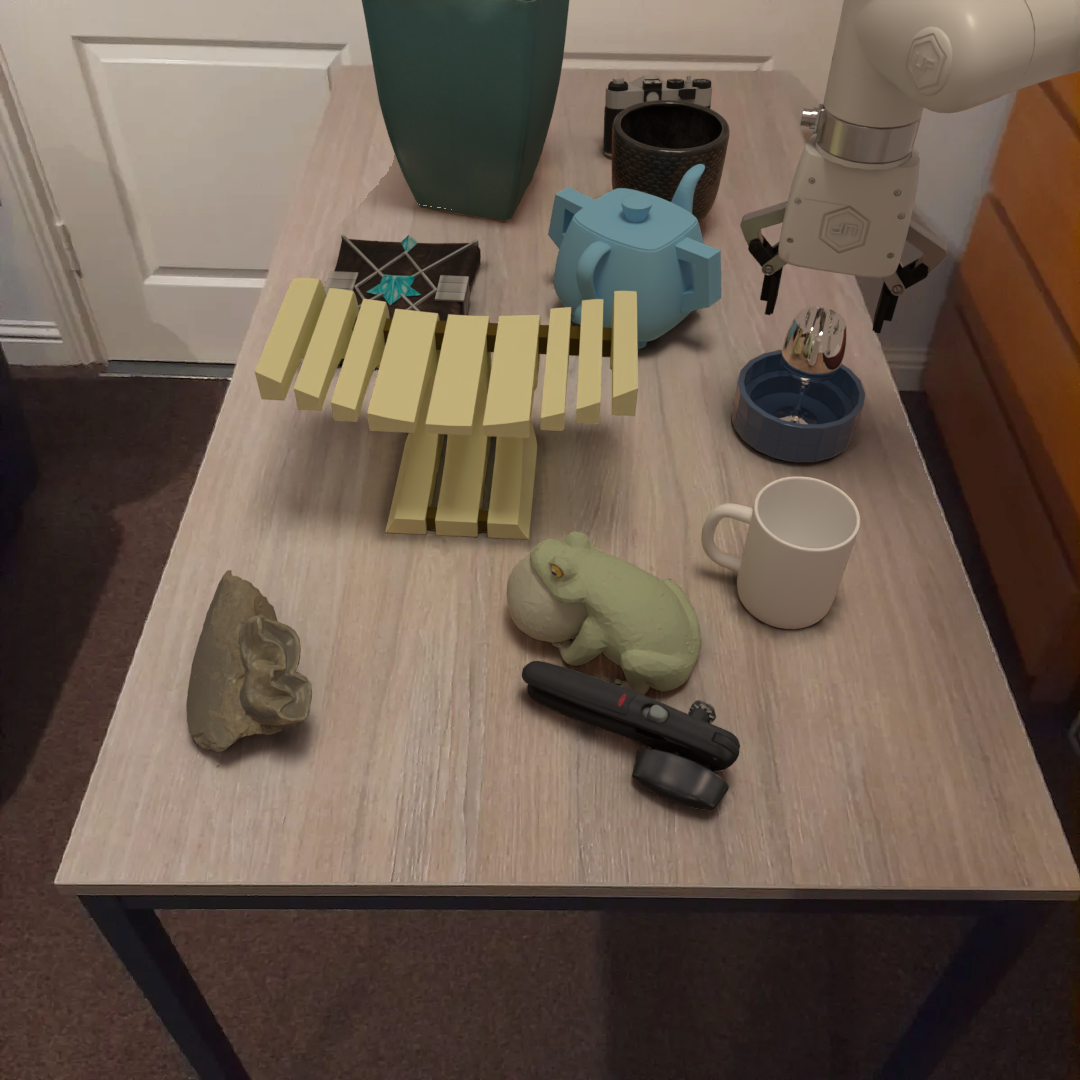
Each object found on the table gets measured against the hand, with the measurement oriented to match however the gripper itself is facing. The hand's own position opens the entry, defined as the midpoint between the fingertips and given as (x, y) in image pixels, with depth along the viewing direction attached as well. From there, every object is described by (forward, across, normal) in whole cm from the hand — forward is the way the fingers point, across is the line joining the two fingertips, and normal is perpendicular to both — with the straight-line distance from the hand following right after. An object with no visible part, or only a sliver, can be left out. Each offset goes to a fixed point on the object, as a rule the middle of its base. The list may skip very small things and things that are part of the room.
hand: (823, 315), depth 91 cm
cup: (+14, 0, -22) cm, 26 cm away
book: (+13, -46, +6) cm, 48 cm away
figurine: (+14, -12, -32) cm, 37 cm away
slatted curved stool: (+14, -30, -16) cm, 36 cm away
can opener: (+14, -8, -40) cm, 43 cm away
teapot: (+13, -21, +15) cm, 29 cm away
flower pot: (+13, -47, +35) cm, 60 cm away
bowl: (+14, -1, 0) cm, 14 cm away
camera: (+13, -28, +57) cm, 65 cm away
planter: (+13, -22, +35) cm, 43 cm away
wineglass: (+13, 0, +1) cm, 13 cm away
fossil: (+10, -34, -42) cm, 55 cm away
